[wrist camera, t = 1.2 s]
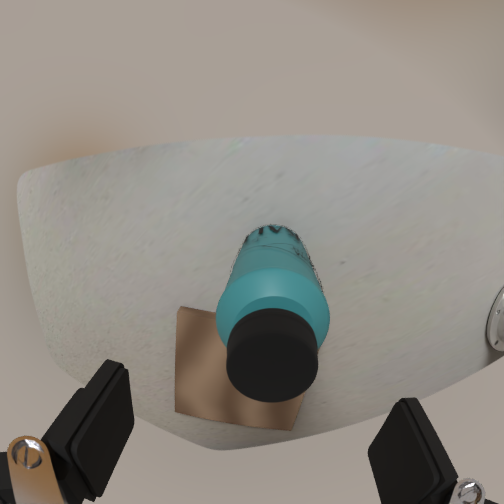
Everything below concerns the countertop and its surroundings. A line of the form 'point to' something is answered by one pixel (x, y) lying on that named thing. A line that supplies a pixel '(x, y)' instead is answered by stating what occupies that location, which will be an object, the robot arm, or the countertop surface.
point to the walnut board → (217, 379)
